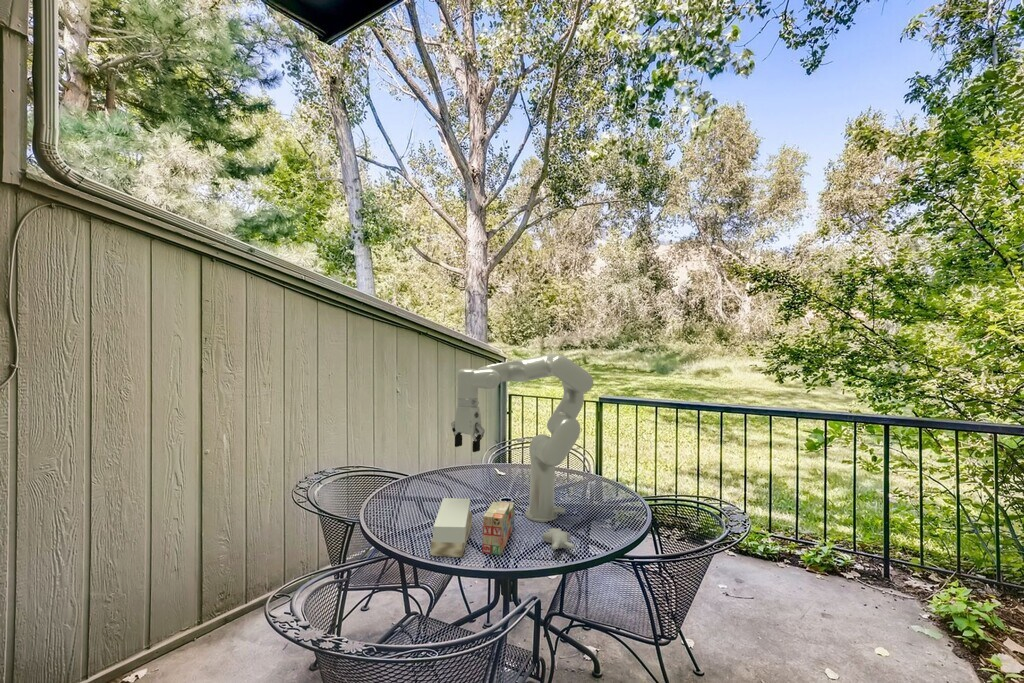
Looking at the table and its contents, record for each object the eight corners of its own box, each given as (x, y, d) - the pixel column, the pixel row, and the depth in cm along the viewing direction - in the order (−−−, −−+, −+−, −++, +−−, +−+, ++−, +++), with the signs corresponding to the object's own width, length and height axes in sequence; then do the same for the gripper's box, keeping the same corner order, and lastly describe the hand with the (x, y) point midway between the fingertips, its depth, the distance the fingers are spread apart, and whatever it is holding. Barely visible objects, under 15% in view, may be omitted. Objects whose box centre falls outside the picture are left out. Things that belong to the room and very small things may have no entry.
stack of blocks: (497, 525, 166) (498, 492, 166) (514, 527, 165) (515, 494, 165) (481, 553, 145) (483, 515, 145) (500, 555, 144) (502, 517, 144)
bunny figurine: (566, 524, 159) (578, 539, 145) (566, 539, 159) (578, 555, 144) (540, 525, 158) (549, 540, 143) (540, 540, 158) (549, 556, 143)
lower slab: (471, 525, 166) (472, 512, 166) (461, 558, 142) (462, 543, 142) (445, 524, 166) (445, 511, 166) (430, 557, 142) (430, 541, 142)
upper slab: (469, 512, 166) (470, 498, 166) (464, 542, 142) (465, 527, 142) (442, 511, 166) (443, 498, 166) (433, 542, 142) (433, 526, 142)
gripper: (491, 404, 162) (491, 451, 162) (459, 398, 173) (459, 442, 174) (476, 406, 156) (475, 455, 157) (444, 400, 168) (444, 446, 168)
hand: (467, 448), depth 165 cm, fingers open, 9 cm apart
